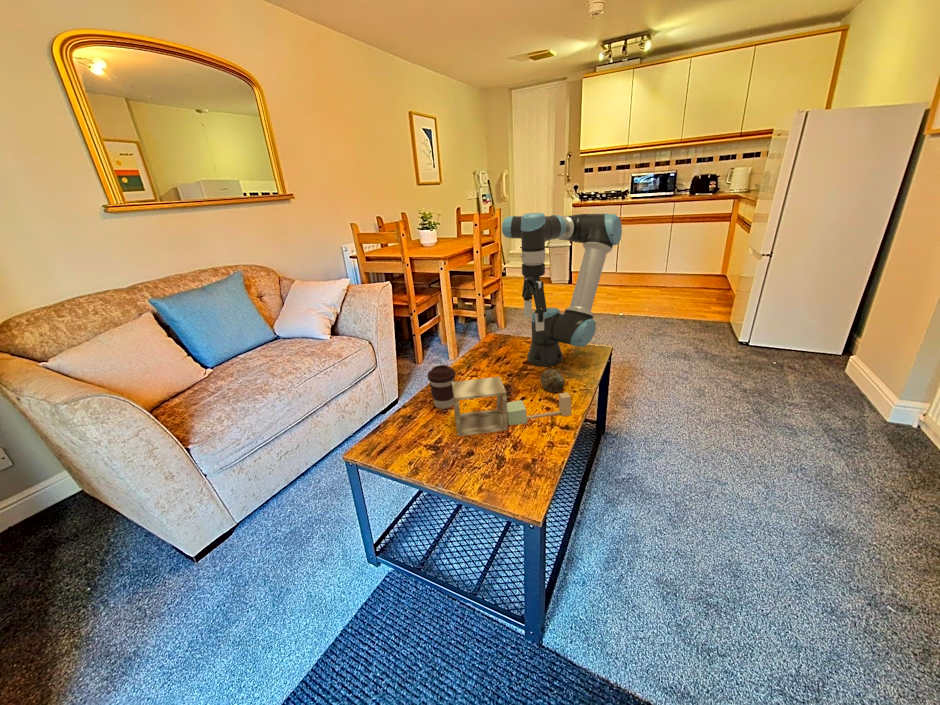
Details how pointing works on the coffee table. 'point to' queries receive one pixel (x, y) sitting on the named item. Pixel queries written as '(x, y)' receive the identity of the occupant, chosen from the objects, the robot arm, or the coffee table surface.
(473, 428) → the frame
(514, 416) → the tethered block
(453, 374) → the coffee cup
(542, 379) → the seashell
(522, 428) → the coffee table surface
